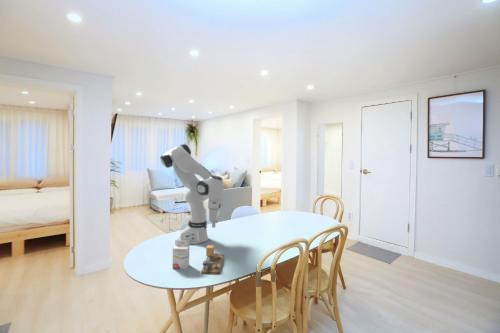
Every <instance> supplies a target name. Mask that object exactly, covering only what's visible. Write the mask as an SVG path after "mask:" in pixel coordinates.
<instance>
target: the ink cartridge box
mask: <svg viewBox="0 0 500 333" xmlns="http://www.w3.org/2000/svg"><path fill="white" fill-rule="evenodd" d="M180 242H185V243H180ZM189 266H190V244H189V241H187V240H177V239H175V243H174V246H173V248H172V269H185V270H186V269H188V268H189Z"/></svg>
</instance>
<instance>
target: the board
mask: <svg viewBox="0 0 500 333" xmlns="http://www.w3.org/2000/svg"><path fill="white" fill-rule="evenodd" d="M219 254H220V253H219ZM224 258H225V254H222V253H221V254H220V258H219V255H213V256H206V259H205V260H204V261H203V262H202V268H201V271H200V272H201V274H207V275H209V274H210V275H211V274H212V275H220V274H221V270H222V266H223V263H224V262H223V261H224Z"/></svg>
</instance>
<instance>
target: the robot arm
mask: <svg viewBox="0 0 500 333" xmlns="http://www.w3.org/2000/svg"><path fill="white" fill-rule="evenodd" d="M159 158H160V162H161V164H162V165H163V166H164V167H165V168H166V169H167V168H169V169H170V168H171V167H172V168H173V171H174V173H175V175H176V176H177V178H178V179H179V181H180V183H181V184H182V186H184V187H185V188H187V189H188V190H189V191H187V192H186V194H185V201H186V202H187V203H188V204H189V208H190V219H189V220H188V222H187V225H188V226H186V227H185V228H183V229H182V230H181V231H180V234H179V236H178V237H177V238H176V240H187V241H189V245H198V244H201V243H205V242H207V241H208V240H209V236H208V232H207V231H208V230H207V228H208V221H207V209H206V207H205V205H204V202H205V201H207V200H208V203H207V204H208V205H207V208H208V217H209V219H208V220H209V222H211V228H212V229H213V228H214V229H215V227H216V224H218V221H219V216H220V214H221V207H223V206H224V196H223V195H224V179H223V178H222V177H221V176H219V175H213V174H212V173H211V172H210V171H209V170H208V169H207V168H206V167H204V166H203V165H202V164H201V163H199V162H198V161H197V160H196V159H195V158H194V157H193V156H192V151H191V148H190V147H189V146H188V145H187V144H186V143H185V144H184V143H183V144H180V145H178V146H176V147H173V148H172V149H170V150H168V151H167V152H164V153H162V154H161V156H160V157H159ZM197 176H199V177H201V178H202V180H200V179H199V178H198V177H197ZM180 243H185V242H180Z"/></svg>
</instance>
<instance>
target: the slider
mask: <svg viewBox="0 0 500 333" xmlns="http://www.w3.org/2000/svg"><path fill="white" fill-rule="evenodd" d="M205 249H206V252H205V253H206V257H207V256H213V255H219V258H220V253H219V252H215V245H214V244H213V245H211V244H207V246H206V248H205Z"/></svg>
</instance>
